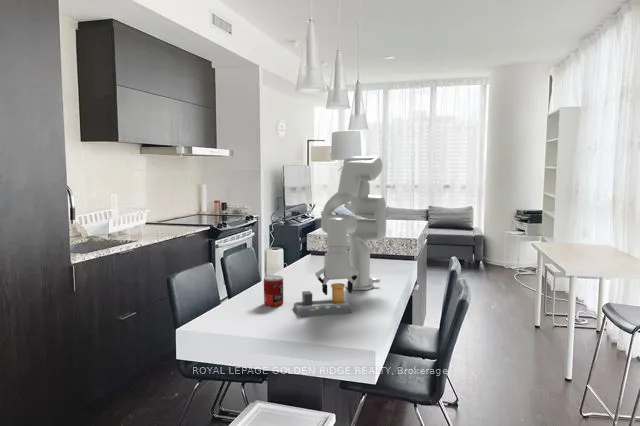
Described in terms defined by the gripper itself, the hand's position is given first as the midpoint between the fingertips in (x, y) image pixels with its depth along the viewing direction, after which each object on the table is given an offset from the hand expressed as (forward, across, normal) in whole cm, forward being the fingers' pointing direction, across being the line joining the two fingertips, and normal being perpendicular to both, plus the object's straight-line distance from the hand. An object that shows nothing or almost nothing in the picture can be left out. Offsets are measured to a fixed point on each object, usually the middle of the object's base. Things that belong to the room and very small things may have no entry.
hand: (337, 293), depth 180 cm
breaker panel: (+6, +6, +1) cm, 9 cm away
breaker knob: (+4, +12, +1) cm, 13 cm away
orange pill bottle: (+4, 0, +1) cm, 4 cm away
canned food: (+6, +23, -12) cm, 27 cm away
